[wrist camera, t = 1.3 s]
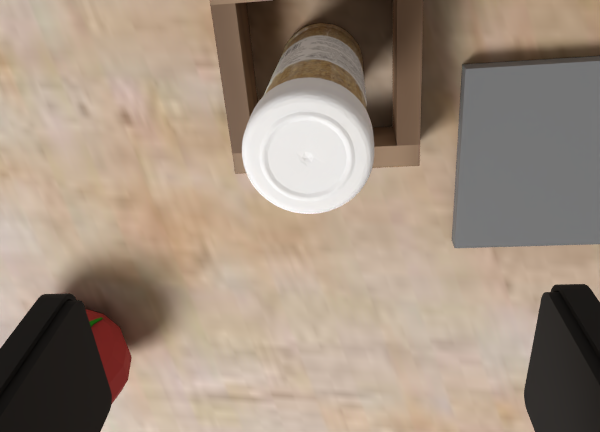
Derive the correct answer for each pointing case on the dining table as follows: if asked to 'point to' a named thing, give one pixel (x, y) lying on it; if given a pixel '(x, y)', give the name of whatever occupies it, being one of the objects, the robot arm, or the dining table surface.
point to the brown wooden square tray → (387, 140)
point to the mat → (528, 154)
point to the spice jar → (312, 125)
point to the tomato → (111, 350)
